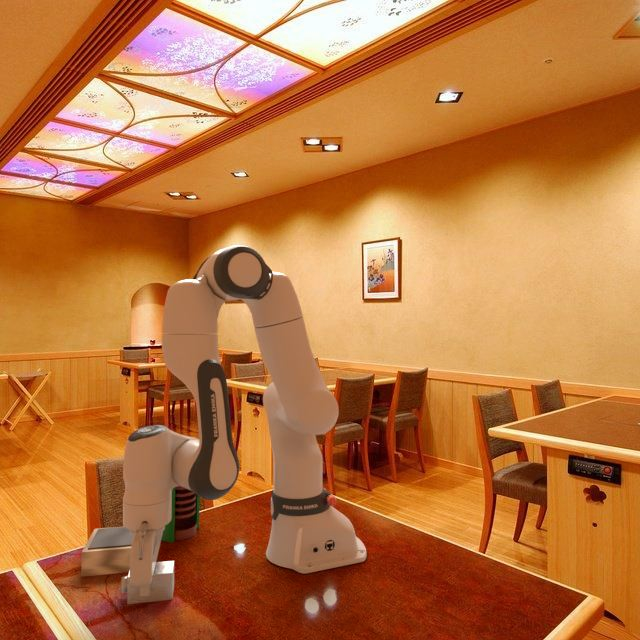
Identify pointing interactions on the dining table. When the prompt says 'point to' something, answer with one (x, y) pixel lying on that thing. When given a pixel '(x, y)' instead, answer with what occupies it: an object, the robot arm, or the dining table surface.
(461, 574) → the dining table surface
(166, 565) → the block
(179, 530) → the motor
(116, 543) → the stand
